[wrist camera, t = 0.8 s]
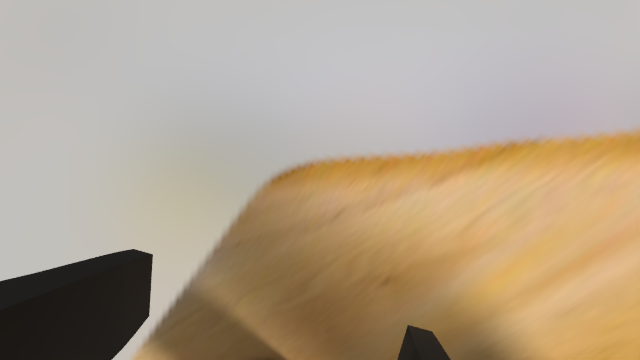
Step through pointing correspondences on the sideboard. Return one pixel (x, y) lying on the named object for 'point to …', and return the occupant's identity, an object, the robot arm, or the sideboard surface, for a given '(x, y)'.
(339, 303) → the sideboard surface
